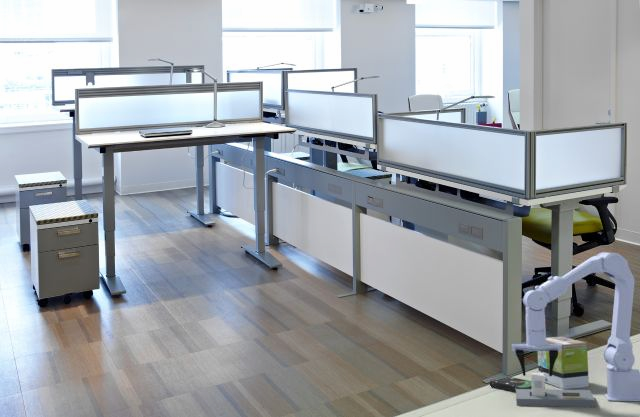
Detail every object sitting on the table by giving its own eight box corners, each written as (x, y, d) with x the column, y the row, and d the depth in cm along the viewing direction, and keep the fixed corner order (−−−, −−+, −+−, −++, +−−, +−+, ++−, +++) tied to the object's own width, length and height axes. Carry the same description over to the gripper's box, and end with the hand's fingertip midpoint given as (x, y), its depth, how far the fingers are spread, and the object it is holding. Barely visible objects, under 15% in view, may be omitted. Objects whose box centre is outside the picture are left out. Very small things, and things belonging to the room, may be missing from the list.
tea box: (537, 381, 262) (535, 337, 262) (563, 379, 264) (561, 335, 265) (563, 389, 247) (561, 343, 248) (590, 387, 250) (588, 341, 250)
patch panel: (590, 396, 236) (589, 389, 236) (595, 407, 222) (595, 399, 222) (516, 395, 241) (515, 388, 241) (516, 405, 227) (516, 398, 227)
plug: (544, 399, 234) (543, 372, 234) (545, 403, 229) (544, 376, 230) (532, 399, 235) (531, 372, 235) (532, 402, 230) (531, 375, 230)
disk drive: (489, 389, 254) (523, 396, 241) (488, 380, 254) (522, 387, 242) (511, 385, 259) (545, 391, 247) (511, 376, 260) (545, 382, 247)
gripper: (511, 331, 231) (512, 377, 231) (561, 332, 228) (563, 378, 227) (511, 328, 238) (512, 373, 237) (560, 329, 234) (561, 373, 234)
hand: (537, 375), depth 233 cm, fingers open, 7 cm apart
